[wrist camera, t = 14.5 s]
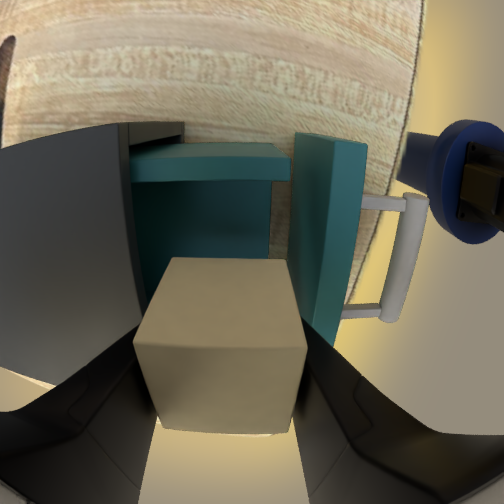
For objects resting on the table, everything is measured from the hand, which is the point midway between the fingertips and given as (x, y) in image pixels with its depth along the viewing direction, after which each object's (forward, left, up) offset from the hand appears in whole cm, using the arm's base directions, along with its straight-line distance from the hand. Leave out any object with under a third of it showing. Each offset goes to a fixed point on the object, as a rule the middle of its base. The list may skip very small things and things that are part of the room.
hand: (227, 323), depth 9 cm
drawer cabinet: (+11, 0, -11) cm, 15 cm away
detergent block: (0, 0, -1) cm, 1 cm away
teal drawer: (0, 0, -10) cm, 10 cm away
